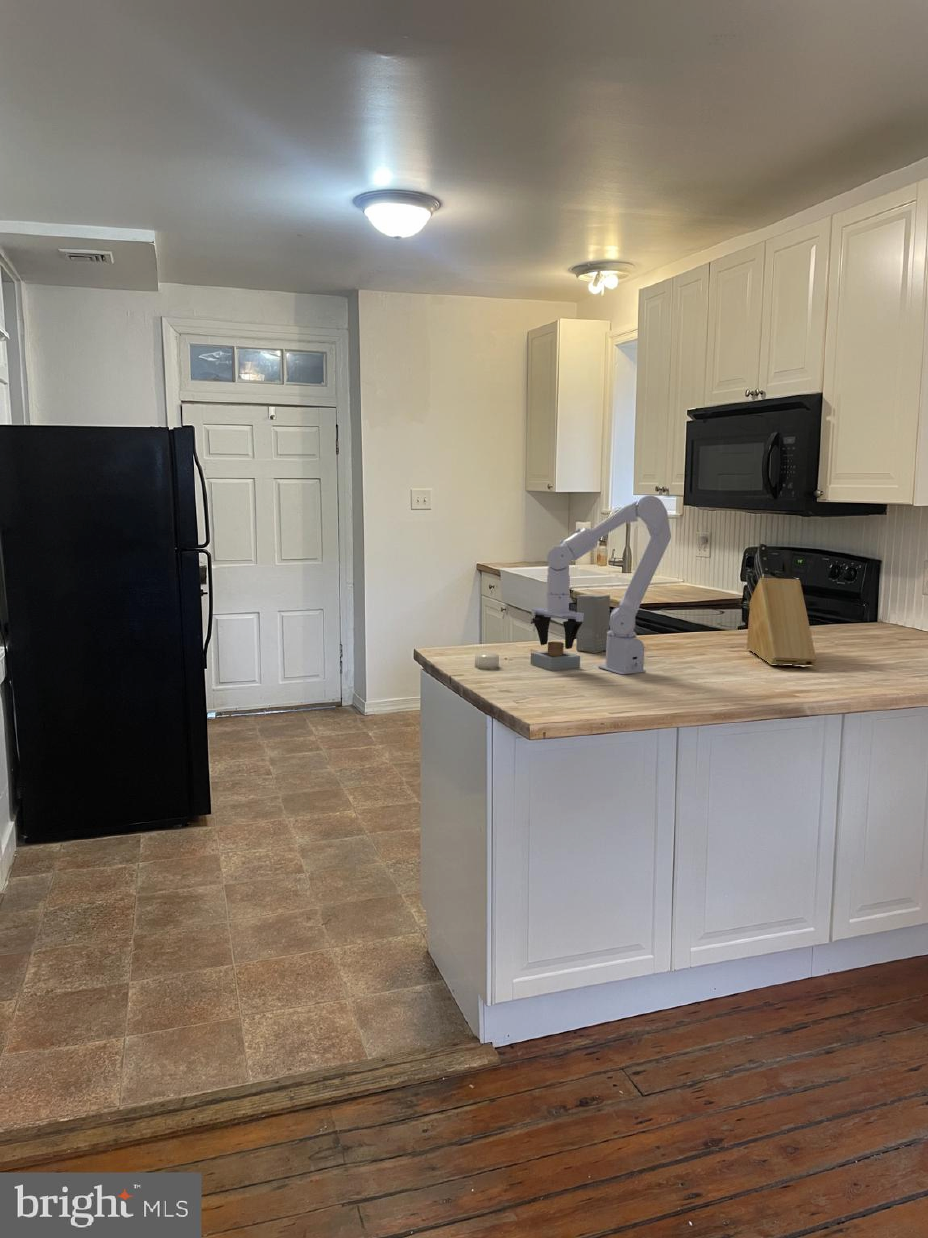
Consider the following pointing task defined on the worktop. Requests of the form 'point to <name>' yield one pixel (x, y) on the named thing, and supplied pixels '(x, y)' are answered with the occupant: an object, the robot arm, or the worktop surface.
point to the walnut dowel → (555, 649)
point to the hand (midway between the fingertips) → (556, 646)
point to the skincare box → (593, 622)
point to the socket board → (555, 661)
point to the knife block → (777, 614)
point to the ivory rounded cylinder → (486, 660)
